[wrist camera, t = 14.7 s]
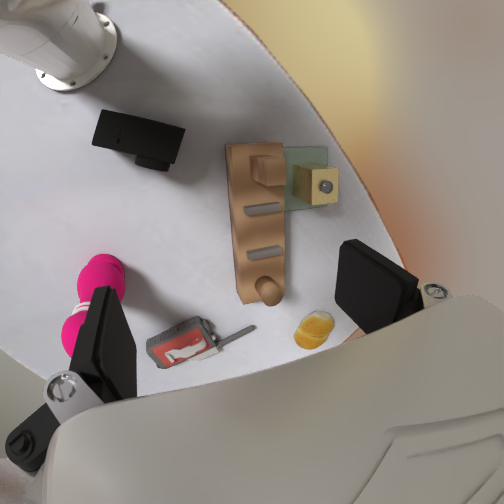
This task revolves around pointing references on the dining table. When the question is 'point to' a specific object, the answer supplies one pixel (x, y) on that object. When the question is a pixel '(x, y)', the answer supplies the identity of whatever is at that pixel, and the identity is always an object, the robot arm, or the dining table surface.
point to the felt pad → (292, 157)
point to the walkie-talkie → (187, 343)
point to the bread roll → (314, 330)
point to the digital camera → (139, 139)
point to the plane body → (257, 219)
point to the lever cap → (315, 183)
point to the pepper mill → (93, 275)
